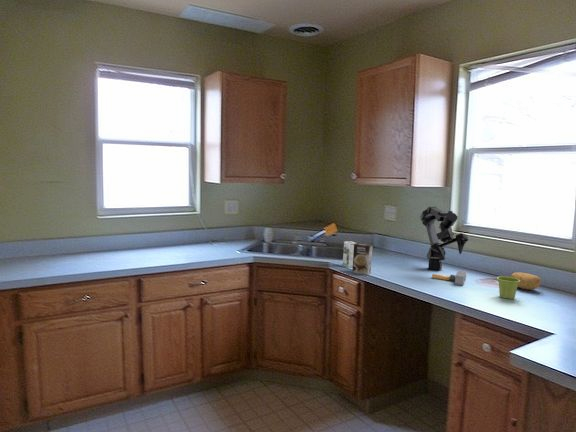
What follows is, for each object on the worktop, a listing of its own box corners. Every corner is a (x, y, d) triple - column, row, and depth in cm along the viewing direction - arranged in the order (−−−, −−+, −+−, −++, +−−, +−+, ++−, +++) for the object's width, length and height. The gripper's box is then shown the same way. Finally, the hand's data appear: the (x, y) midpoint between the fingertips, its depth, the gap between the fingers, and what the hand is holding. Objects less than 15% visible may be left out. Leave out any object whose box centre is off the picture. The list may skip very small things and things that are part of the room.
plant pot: (490, 295, 194) (492, 277, 193) (505, 293, 197) (507, 275, 196) (507, 301, 185) (509, 282, 184) (523, 299, 188) (525, 280, 187)
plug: (431, 278, 220) (432, 272, 220) (432, 277, 223) (433, 271, 223) (458, 282, 214) (458, 276, 214) (458, 281, 217) (459, 275, 217)
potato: (517, 284, 214) (519, 269, 213) (544, 291, 201) (546, 276, 201) (505, 286, 210) (506, 270, 209) (531, 294, 197) (533, 277, 196)
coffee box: (351, 272, 227) (353, 244, 226) (355, 270, 233) (357, 242, 231) (368, 275, 223) (369, 246, 221) (371, 272, 229) (372, 244, 227)
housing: (454, 284, 210) (455, 275, 209) (457, 278, 222) (458, 270, 222) (463, 285, 208) (463, 276, 208) (465, 279, 220) (466, 271, 220)
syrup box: (342, 265, 245) (343, 241, 243) (351, 264, 247) (352, 240, 246) (346, 267, 240) (348, 242, 238) (355, 266, 242) (357, 242, 240)
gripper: (423, 232, 226) (427, 257, 217) (455, 219, 214) (461, 245, 206) (434, 239, 232) (439, 264, 223) (465, 227, 220) (472, 252, 212)
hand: (452, 256), depth 216 cm, fingers open, 9 cm apart
